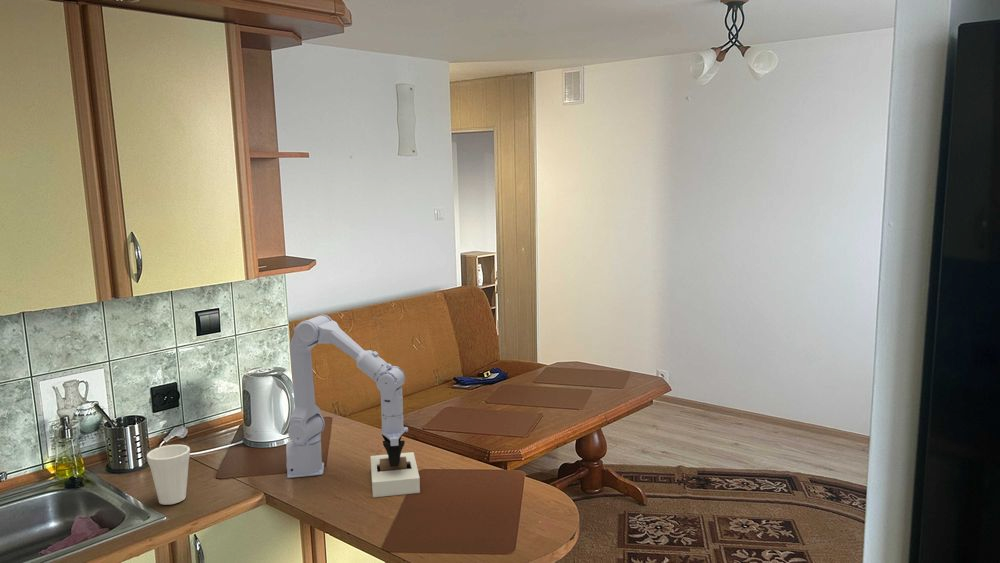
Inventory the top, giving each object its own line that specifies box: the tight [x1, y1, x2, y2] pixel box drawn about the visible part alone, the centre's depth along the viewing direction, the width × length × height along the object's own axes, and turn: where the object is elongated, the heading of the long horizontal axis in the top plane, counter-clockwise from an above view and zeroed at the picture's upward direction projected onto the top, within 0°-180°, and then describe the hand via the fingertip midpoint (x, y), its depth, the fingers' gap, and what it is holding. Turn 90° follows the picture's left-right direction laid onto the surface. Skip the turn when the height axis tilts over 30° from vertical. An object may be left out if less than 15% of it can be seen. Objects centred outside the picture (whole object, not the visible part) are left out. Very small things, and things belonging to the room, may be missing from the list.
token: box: [379, 457, 408, 472], centre depth 189 cm, size 7×3×6 cm, turn 101°
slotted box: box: [370, 451, 421, 498], centre depth 189 cm, size 12×18×4 cm, turn 12°
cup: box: [146, 444, 191, 505], centre depth 178 cm, size 10×10×13 cm
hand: (393, 462), depth 188 cm, fingers open, 5 cm apart
